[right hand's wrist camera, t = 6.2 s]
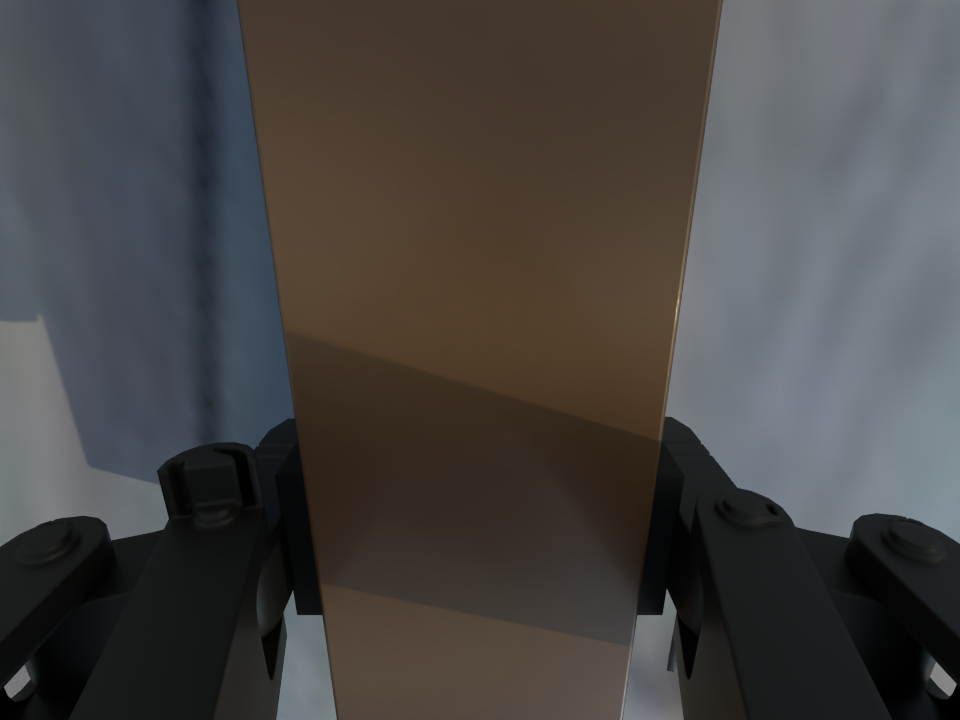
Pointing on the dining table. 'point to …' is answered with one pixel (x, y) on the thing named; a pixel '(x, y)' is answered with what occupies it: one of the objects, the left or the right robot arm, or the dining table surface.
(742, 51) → the dining table surface
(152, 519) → the dining table surface
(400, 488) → the post
